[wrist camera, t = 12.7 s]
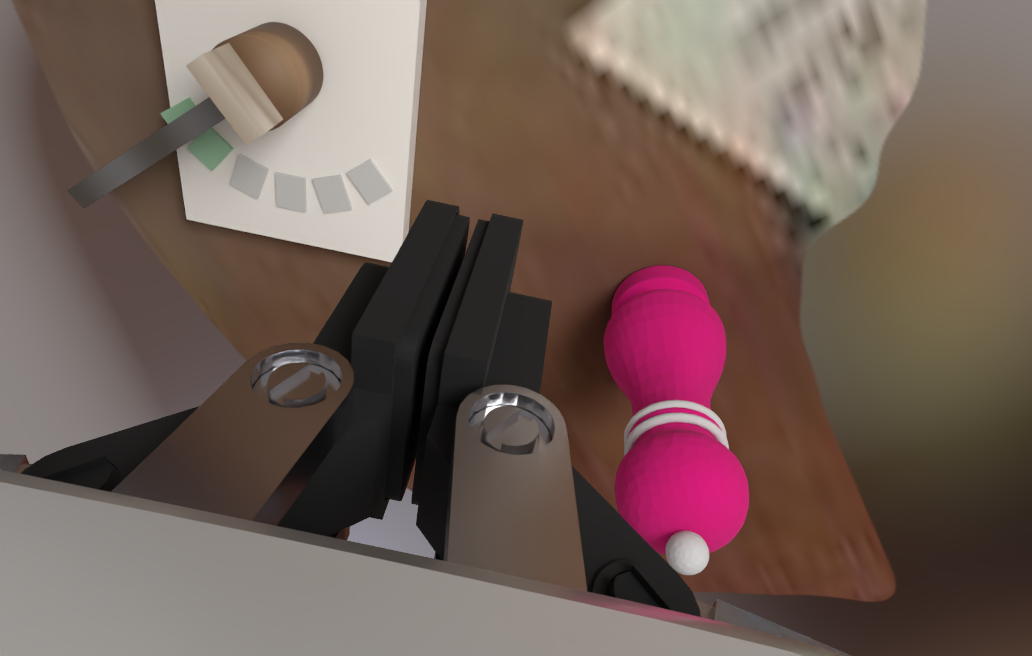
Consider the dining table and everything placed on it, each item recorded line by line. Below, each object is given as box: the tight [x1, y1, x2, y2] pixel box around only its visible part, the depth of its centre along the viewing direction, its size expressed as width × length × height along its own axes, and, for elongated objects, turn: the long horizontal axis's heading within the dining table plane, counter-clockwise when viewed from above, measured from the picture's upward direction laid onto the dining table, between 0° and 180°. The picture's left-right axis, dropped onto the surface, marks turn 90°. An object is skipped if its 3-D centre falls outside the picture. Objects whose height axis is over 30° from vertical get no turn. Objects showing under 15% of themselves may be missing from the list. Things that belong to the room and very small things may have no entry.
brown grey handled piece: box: [68, 22, 323, 208], centre depth 34 cm, size 16×4×6 cm, turn 119°
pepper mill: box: [604, 265, 749, 575], centre depth 35 cm, size 7×7×20 cm
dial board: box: [155, 0, 427, 262], centre depth 37 cm, size 16×15×2 cm
